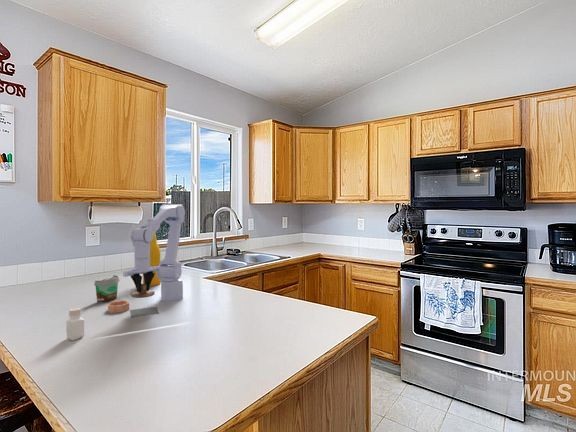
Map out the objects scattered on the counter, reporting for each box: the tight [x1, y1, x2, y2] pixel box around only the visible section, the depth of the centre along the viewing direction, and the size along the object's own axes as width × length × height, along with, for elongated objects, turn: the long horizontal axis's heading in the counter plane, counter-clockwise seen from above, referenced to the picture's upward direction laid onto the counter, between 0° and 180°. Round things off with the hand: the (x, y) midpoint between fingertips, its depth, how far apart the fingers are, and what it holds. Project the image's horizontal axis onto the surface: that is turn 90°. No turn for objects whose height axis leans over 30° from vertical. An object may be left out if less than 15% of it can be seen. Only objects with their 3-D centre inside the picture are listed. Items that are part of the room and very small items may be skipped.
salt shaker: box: [66, 307, 85, 341], centre depth 106 cm, size 4×4×10 cm
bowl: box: [107, 299, 130, 314], centre depth 134 cm, size 8×8×3 cm
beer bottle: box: [142, 232, 162, 287], centre depth 179 cm, size 9×9×29 cm
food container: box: [93, 275, 120, 303], centre depth 150 cm, size 12×6×10 cm, turn 168°
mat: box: [129, 306, 160, 318], centre depth 131 cm, size 10×10×1 cm
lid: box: [130, 282, 156, 299], centre depth 131 cm, size 9×9×4 cm
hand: (142, 291), depth 131 cm, fingers closed on lid, 3 cm apart
